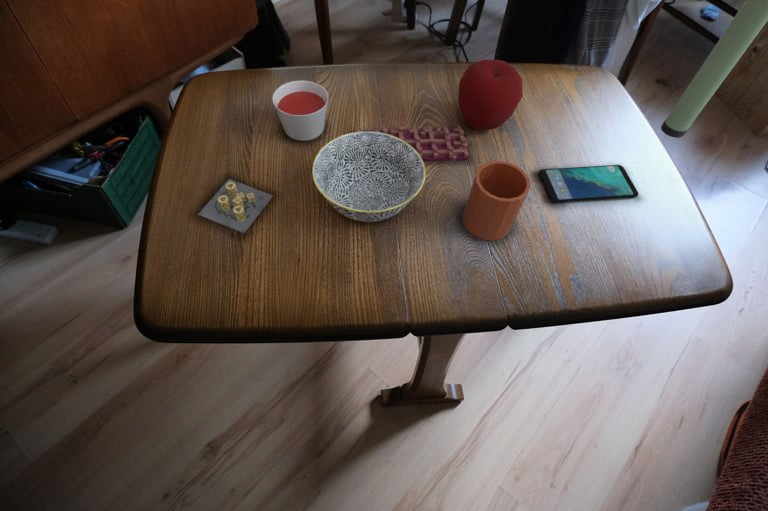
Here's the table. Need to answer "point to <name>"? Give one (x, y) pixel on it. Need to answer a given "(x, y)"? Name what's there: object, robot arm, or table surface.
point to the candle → (301, 109)
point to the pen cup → (495, 200)
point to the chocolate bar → (433, 142)
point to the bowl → (368, 175)
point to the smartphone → (587, 183)
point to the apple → (489, 94)
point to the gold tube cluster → (236, 205)
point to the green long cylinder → (717, 66)
